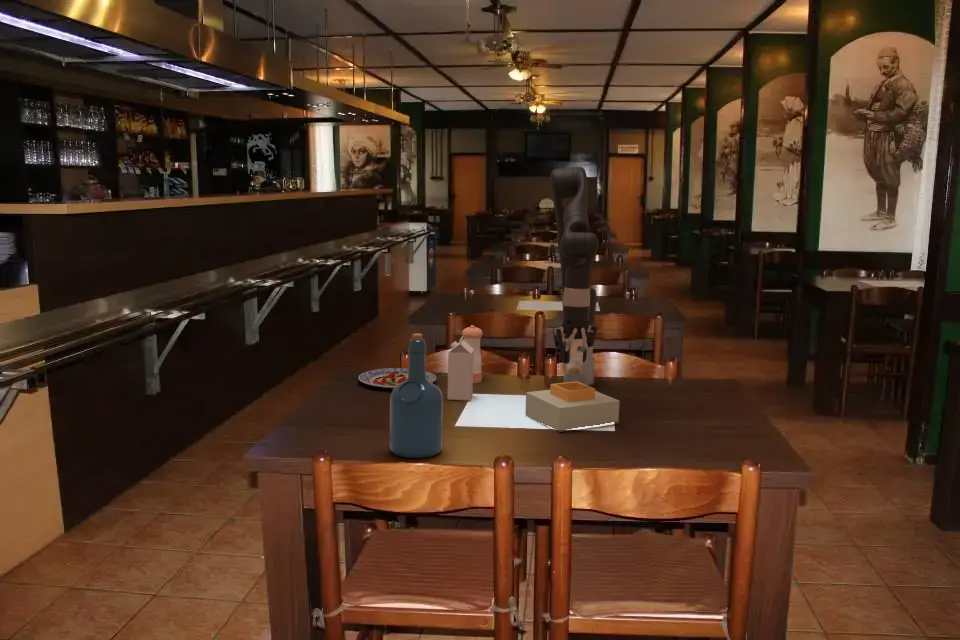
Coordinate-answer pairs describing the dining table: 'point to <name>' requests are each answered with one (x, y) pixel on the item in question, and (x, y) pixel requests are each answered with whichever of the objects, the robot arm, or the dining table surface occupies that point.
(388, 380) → the ceramic plate
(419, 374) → the wine bottle
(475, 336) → the pepper shaker
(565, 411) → the slab with orange tray
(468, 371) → the milk carton
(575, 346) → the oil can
